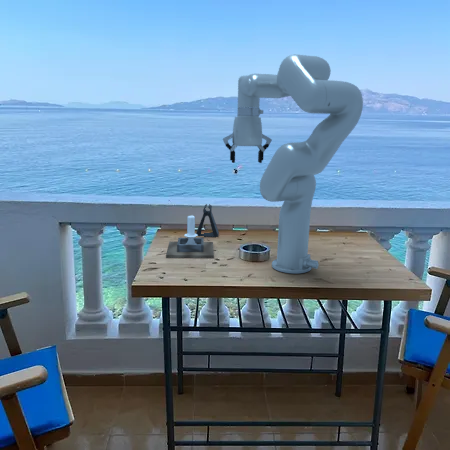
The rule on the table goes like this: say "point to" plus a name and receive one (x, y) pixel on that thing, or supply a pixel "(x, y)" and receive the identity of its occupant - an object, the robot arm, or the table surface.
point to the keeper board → (190, 249)
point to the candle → (191, 230)
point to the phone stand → (212, 222)
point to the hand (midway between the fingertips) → (246, 162)
